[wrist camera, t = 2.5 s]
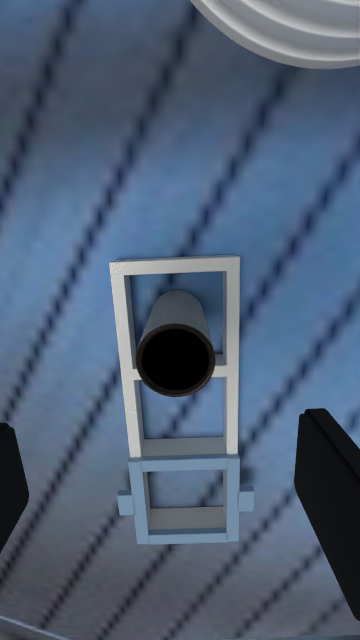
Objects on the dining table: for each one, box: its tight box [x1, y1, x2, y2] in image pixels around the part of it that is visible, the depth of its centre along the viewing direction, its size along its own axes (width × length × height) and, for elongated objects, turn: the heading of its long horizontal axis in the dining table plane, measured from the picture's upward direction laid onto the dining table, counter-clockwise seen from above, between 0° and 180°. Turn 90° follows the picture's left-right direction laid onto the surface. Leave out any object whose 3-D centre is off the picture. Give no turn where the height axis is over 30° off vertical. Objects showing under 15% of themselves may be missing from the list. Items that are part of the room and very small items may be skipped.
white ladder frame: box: [109, 255, 254, 544], centre depth 28 cm, size 13×28×3 cm, turn 3°
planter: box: [136, 290, 216, 397], centre depth 22 cm, size 4×4×10 cm
